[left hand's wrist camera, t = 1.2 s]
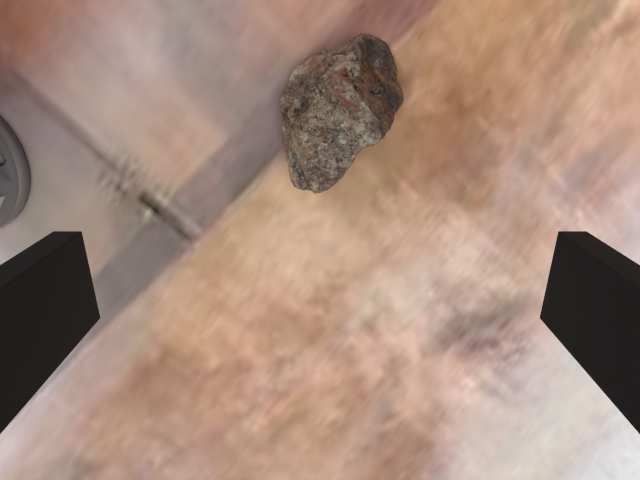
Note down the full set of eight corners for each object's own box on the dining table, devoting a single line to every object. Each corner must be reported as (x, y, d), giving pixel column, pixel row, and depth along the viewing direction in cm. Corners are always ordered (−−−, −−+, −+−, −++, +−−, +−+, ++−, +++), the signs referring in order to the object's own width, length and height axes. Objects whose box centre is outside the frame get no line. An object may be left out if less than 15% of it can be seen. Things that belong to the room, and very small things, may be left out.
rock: (419, 106, 44) (366, 14, 41) (448, 111, 36) (385, -3, 33) (300, 188, 46) (242, 106, 43) (302, 210, 38) (230, 111, 35)
